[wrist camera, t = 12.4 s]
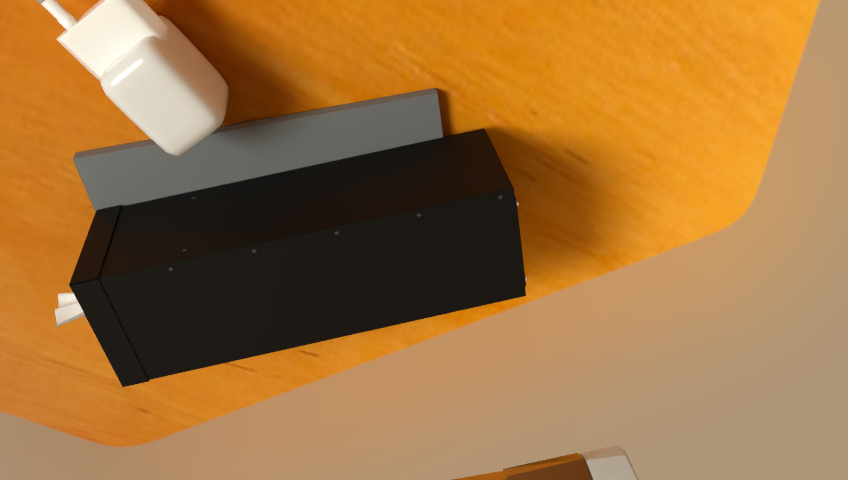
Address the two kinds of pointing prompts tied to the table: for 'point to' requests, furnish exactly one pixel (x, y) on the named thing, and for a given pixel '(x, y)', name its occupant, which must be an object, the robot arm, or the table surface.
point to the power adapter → (147, 70)
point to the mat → (258, 149)
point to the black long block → (298, 257)
